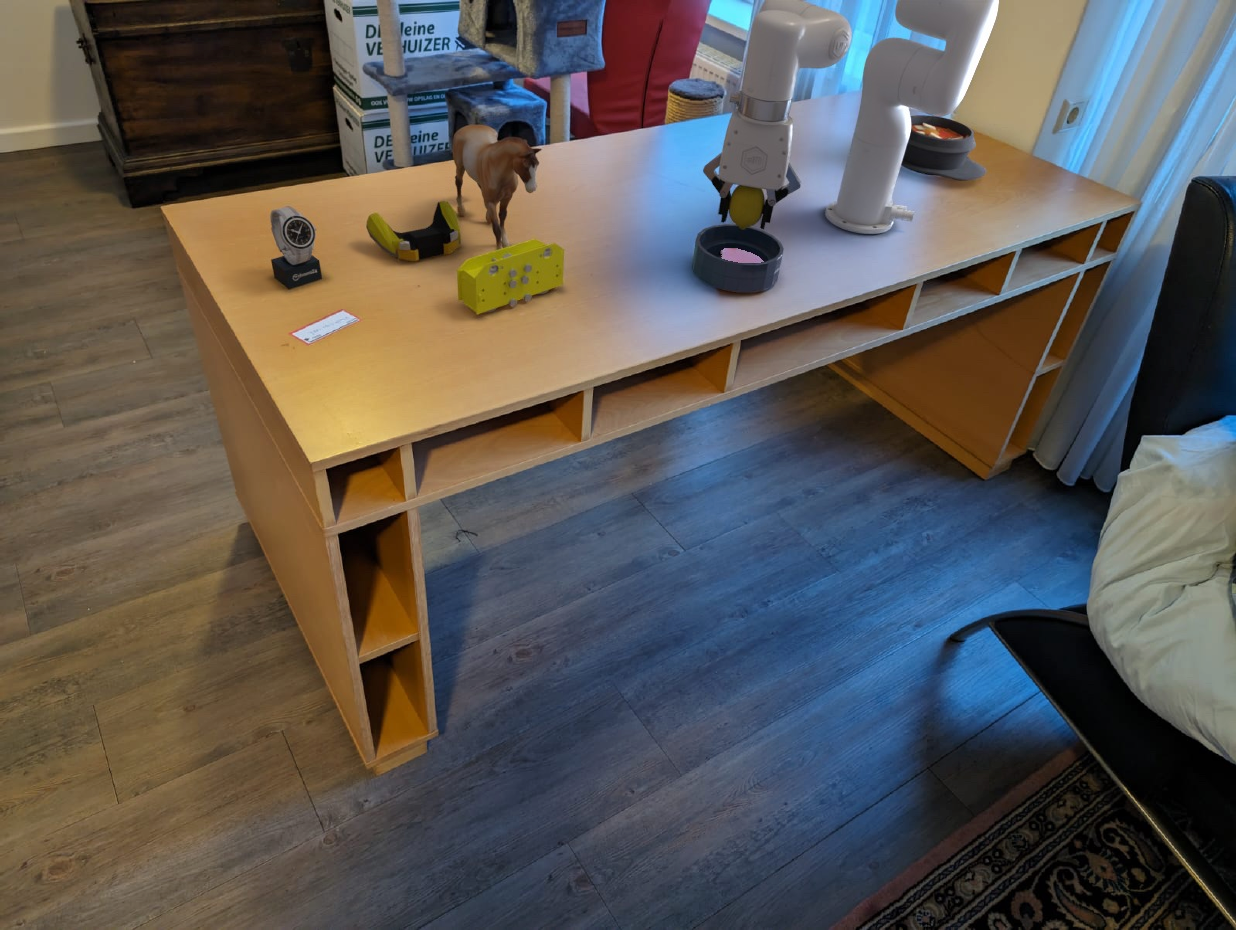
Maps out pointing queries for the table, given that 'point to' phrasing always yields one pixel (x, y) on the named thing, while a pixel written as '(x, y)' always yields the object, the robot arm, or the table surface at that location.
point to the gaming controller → (418, 236)
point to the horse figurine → (493, 170)
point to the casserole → (941, 149)
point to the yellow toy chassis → (510, 275)
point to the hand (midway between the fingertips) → (743, 221)
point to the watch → (294, 248)
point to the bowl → (734, 273)
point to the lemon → (746, 206)
